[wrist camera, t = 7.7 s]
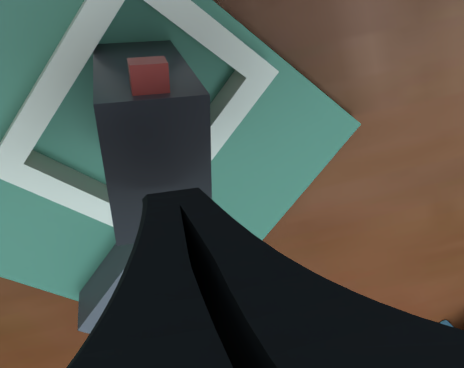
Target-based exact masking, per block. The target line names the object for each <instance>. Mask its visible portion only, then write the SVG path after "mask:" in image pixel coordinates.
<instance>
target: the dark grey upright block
mask: <svg viewBox="0 0 464 368" xmlns="http://www.w3.org/2000/svg"><path fill="white" fill-rule="evenodd" d="M93 107H94V113H95V119H96V125H97V131H98V137H99V143H100V149H101V155H102V161H103V167H104V173H105V179H106V185H107V191H108V197H109V203H110V209H111V215H112V221H113V228H114V234H115V240H116V246H120V245H126V244H132V243H134V242H135V239H136V236H137V232H138V229H139V225H140V221H141V216H142V208H143V202H142V199H143V198H144V197H145V196H146V195H147V194H154V193H161V192H168V191H176V190H183V189H190V188H200V189H201V190H202V191H203V192H204V193H206V194H207V195H208V196H209V197H210V198H211V199H212V176H211V127H210V94H209V93H208V91H207V90H206V89H205V87H204V86H203V84H202V83H201V82H200V80H199V79H198V78H197V76H196V75H195V73H194V72H193V71H192V69H191V68H190V67H189V65H188V64H187V63H186V61H185V60H184V58H183V57H182V56H181V54H180V53H179V52H178V50H177V49H176V47H175V46H174V45H173V43H172V42H171V41H170V40H167V41H147V42H128V43H108V44H97V46H96V48H95V49H94V51H93Z"/></svg>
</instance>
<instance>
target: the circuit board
mask: <svg viewBox="0 0 464 368" xmlns="http://www.w3.org/2000/svg"><path fill="white" fill-rule="evenodd" d="M167 40H170V41H171V42H172V43H173V45H174V46H175V47H176V49H177V50H178V52H179V53H180V54H181V56H182V57H183V58H184V60H185V61H186V63H187V64H188V65H189V67H190V68H191V69H192V71H193V72H194V73H195V75H196V76H197V78H198V79H199V80H200V82H201V83H202V84H203V86H204V87H205V89H206V90H207V91H208V93H209V94H210V127H211V176H212V200H213V201H214V202H215V203H216V204H218V205H219V206H220V207H221V208H222V209H223V210H224V211H226V212H227V213H228V214H229V215H230V216H231V217H232V218H234V219H235V220H236V221H237V222H239V223H240V224H241V225H242V226H244V227H245V228H246V229H247V230H249V231H250V232H251V233H252V234H254V235H255V236H256V237H258V238H259V239H261V240H263V239H264V238H265V236H266V235H267V234H268V233H269V232H270V230H271V229H272V228H273V227H274V226H275V225H276V223H277V222H278V221H279V220H280V219H281V218H282V216H283V215H284V214H285V213H286V212H287V211H288V209H289V208H290V207H291V206H292V205H293V203H294V202H295V201H296V200H297V199H298V198H299V196H300V195H301V194H302V193H303V192H304V191H305V189H306V188H307V187H308V186H309V185H310V184H311V182H312V181H313V180H314V179H315V178H316V176H317V175H318V174H319V173H320V172H321V171H322V169H323V168H324V167H325V166H326V165H327V164H328V162H329V161H330V160H331V159H332V158H333V156H334V155H335V154H336V153H337V152H338V151H339V149H340V148H341V147H342V146H343V145H344V144H345V142H346V141H347V140H348V139H349V138H350V137H351V135H352V134H353V133H354V132H355V131H356V129H357V128H358V127H359V126H360V125H361V124H360V123H359V122H358V121H357V120H356V119H354V118H353V117H352V116H351V115H350V114H348V113H347V112H346V111H345V110H344V109H342V108H341V107H340V106H339V105H338V104H336V103H335V102H334V101H333V100H332V99H330V98H329V97H328V96H327V95H326V94H324V93H323V92H322V91H321V90H320V89H318V88H317V87H316V86H315V85H314V84H312V83H311V82H310V81H309V80H308V79H306V78H305V77H304V76H303V75H302V74H300V73H299V72H298V71H297V70H296V69H294V68H293V67H292V66H291V65H290V64H288V63H287V62H286V61H285V60H284V59H282V58H281V57H280V56H279V55H278V54H276V53H275V52H274V51H273V50H272V49H270V48H269V47H268V46H267V45H266V44H264V43H263V42H262V41H261V40H260V39H258V38H257V37H256V36H255V35H254V34H252V33H251V32H250V31H249V30H248V29H246V28H245V27H244V26H243V25H242V24H240V23H239V22H238V21H237V20H236V19H234V18H233V17H232V16H231V15H230V14H228V13H227V12H226V11H225V10H224V9H222V8H221V7H220V6H219V5H218V4H216V3H215V2H214V1H213V0H0V277H3V278H6V279H9V280H13V281H16V282H19V283H22V284H25V285H28V286H32V287H35V288H38V289H41V290H44V291H48V292H51V293H54V294H57V295H60V296H64V297H67V298H70V299H73V300H76V301H79V310H78V331H82V332H85V333H89V334H90V333H91V331H92V329H93V328H94V326H95V324H96V323H97V321H98V320H99V318H100V316H101V315H102V313H103V311H104V309H105V308H106V306H107V304H108V302H109V300H110V298H111V296H112V294H113V292H114V290H115V288H116V286H117V284H118V282H119V280H120V278H121V276H122V273H123V271H124V268H125V266H126V264H127V261H128V259H129V256H130V254H131V251H132V248H133V245H134V243H132V244H126V245H120V246H116V240H115V234H114V228H113V221H112V215H111V209H110V203H109V197H108V191H107V185H106V179H105V173H104V167H103V161H102V155H101V149H100V143H99V137H98V131H97V125H96V119H95V113H94V107H93V51H94V49H95V48H96V46H97V44H108V43H128V42H147V41H167Z"/></svg>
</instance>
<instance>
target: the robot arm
mask: <svg viewBox="0 0 464 368" xmlns="http://www.w3.org/2000/svg"><path fill="white" fill-rule="evenodd" d="M142 202H143V208H142V216H141V221H140V225H139V229H138V232H137V236H136V239H135V242H134V245H133V248H132V251H131V254H130V256H129V259H128V261H127V264H126V266H125V268H124V271H123V273H122V276H121V278H120V280H119V282H118V284H117V286H116V288H115V290H114V292H113V294H112V296H111V298H110V300H109V302H108V304H107V306H106V308H105V309H104V311H103V313H102V315H101V316H100V318H99V320H98V321H97V323H96V324H95V326H94V328H93V329H92V331H91V333H90V334H89V336H88V337H87V339H86V341H85V342H84V344H83V345H82V347H81V348H80V350H79V351H78V353H77V354H76V355H75V357H74V358H73V360H72V361H71V362H70V364H69V365H68V366H67V368H464V330H461V329H458V328H454V327H451V326H448V325H444V324H441V323H438V322H434V321H431V320H428V319H424V318H421V317H418V316H415V315H412V314H409V313H407V312H404V311H401V310H399V309H396V308H393V307H390V306H388V305H385V304H382V303H380V302H377V301H375V300H372V299H370V298H367V297H365V296H363V295H360V294H358V293H356V292H353V291H351V290H349V289H347V288H345V287H343V286H340V285H338V284H336V283H334V282H332V281H330V280H328V279H326V278H324V277H322V276H320V275H318V274H316V273H314V272H312V271H310V270H309V269H307V268H305V267H303V266H302V265H300V264H298V263H296V262H295V261H293V260H291V259H289V258H288V257H286V256H284V255H283V254H281V253H280V252H278V251H277V250H275V249H274V248H272V247H271V246H269V245H268V244H266V243H265V242H263V241H262V240H261V239H259V238H258V237H256V236H255V235H254V234H252V233H251V232H250V231H249V230H247V229H246V228H245V227H244V226H242V225H241V224H240V223H239V222H237V221H236V220H235V219H234V218H232V217H231V216H230V215H229V214H228V213H227V212H226V211H224V210H223V209H222V208H221V207H220V206H219V205H218V204H216V203H215V202H214V201H213V200H212V199H211V198H210V197H209V196H208V195H207V194H206V193H204V192H203V191H202V190H201V189H200V188H190V189H183V190H176V191H168V192H161V193H154V194H147V195H146V196H145V197H144V198H143V199H142Z"/></svg>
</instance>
